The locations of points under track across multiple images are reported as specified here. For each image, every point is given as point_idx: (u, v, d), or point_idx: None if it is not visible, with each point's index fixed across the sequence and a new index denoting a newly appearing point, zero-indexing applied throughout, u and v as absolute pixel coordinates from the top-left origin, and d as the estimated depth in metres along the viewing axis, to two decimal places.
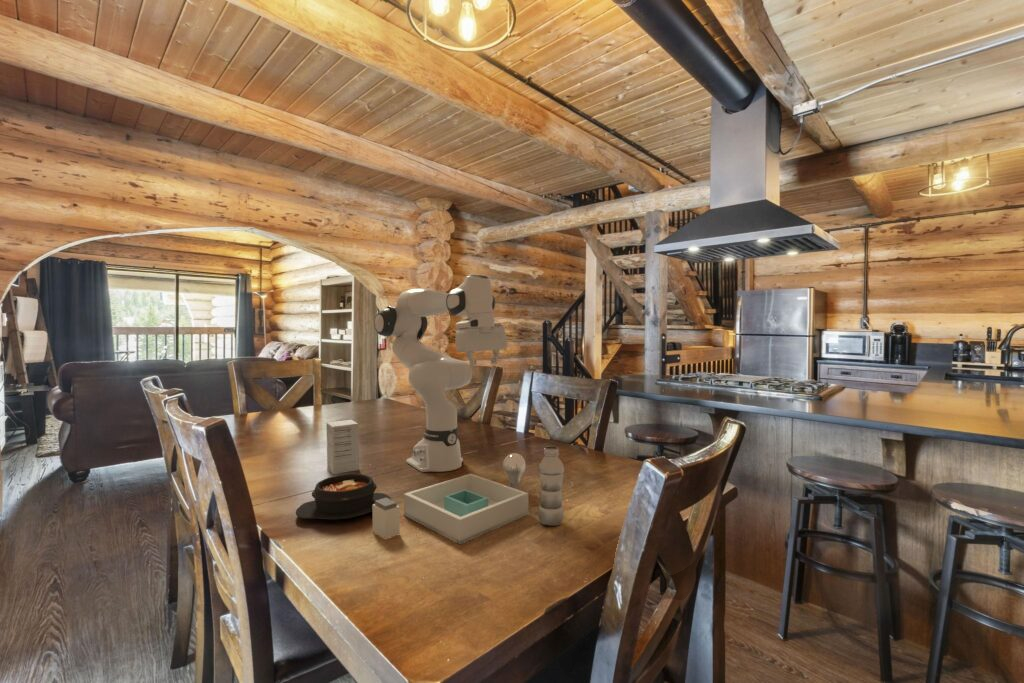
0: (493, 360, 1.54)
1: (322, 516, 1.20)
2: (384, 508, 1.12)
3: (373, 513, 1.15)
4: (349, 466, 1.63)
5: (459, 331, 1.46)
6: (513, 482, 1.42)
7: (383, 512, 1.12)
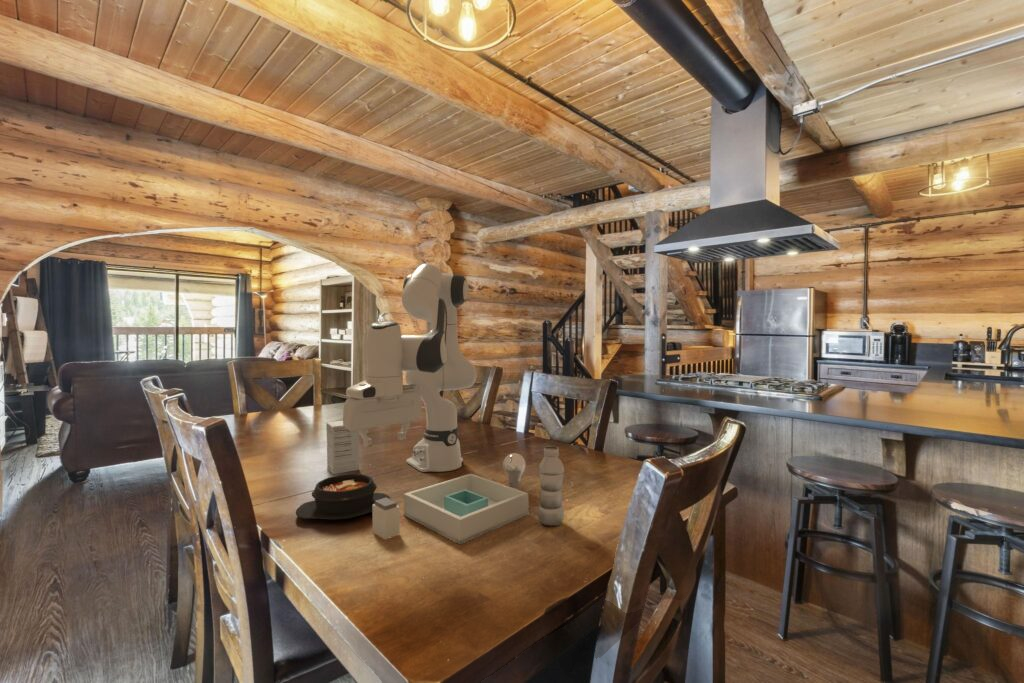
0: (400, 435, 1.17)
1: (322, 516, 1.20)
2: (384, 508, 1.12)
3: (373, 513, 1.15)
4: (349, 466, 1.63)
5: (348, 402, 1.07)
6: (513, 482, 1.42)
7: (383, 512, 1.12)
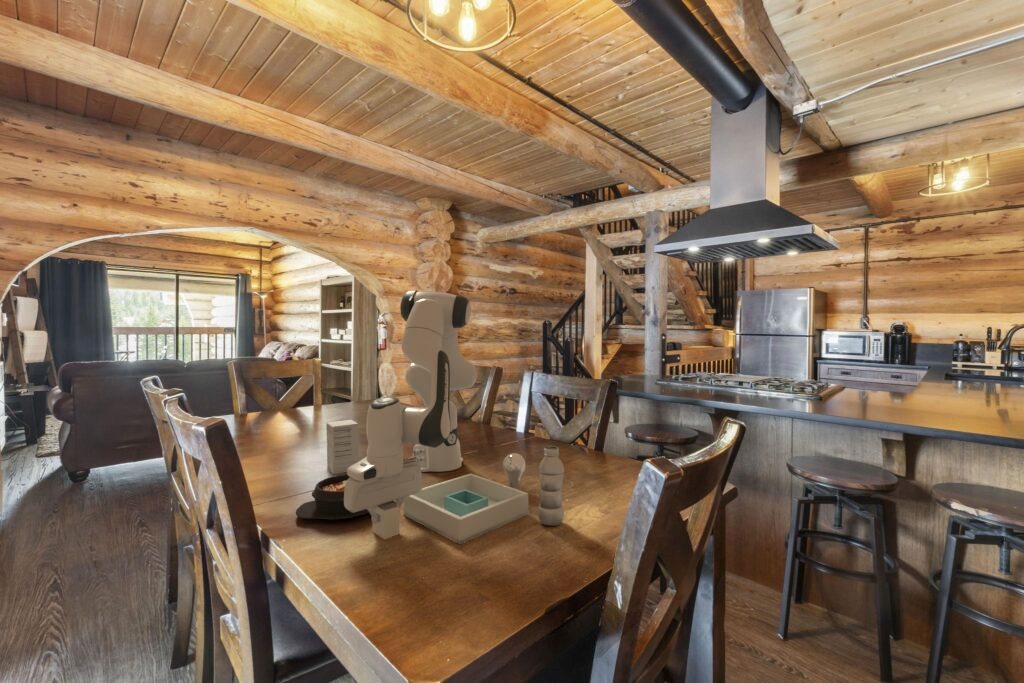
0: None
1: (322, 516, 1.20)
2: (384, 508, 1.12)
3: None
4: (349, 466, 1.63)
5: (349, 483, 1.08)
6: (513, 482, 1.42)
7: (383, 512, 1.12)
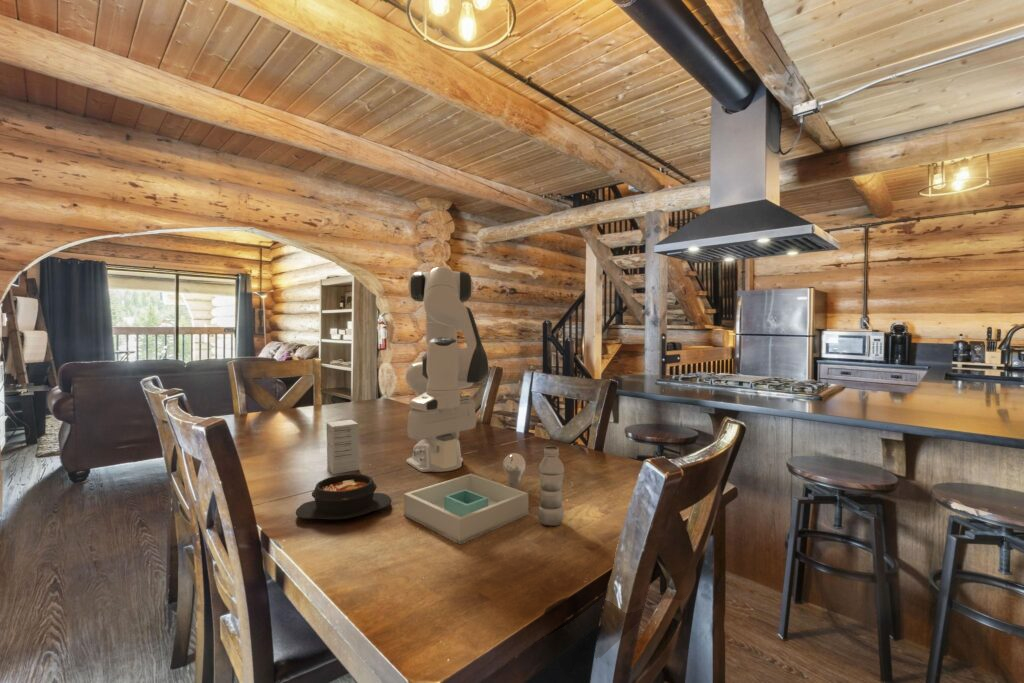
0: None
1: (322, 516, 1.20)
2: (443, 439, 1.19)
3: None
4: (349, 466, 1.63)
5: (413, 413, 1.16)
6: (513, 482, 1.42)
7: (442, 443, 1.19)
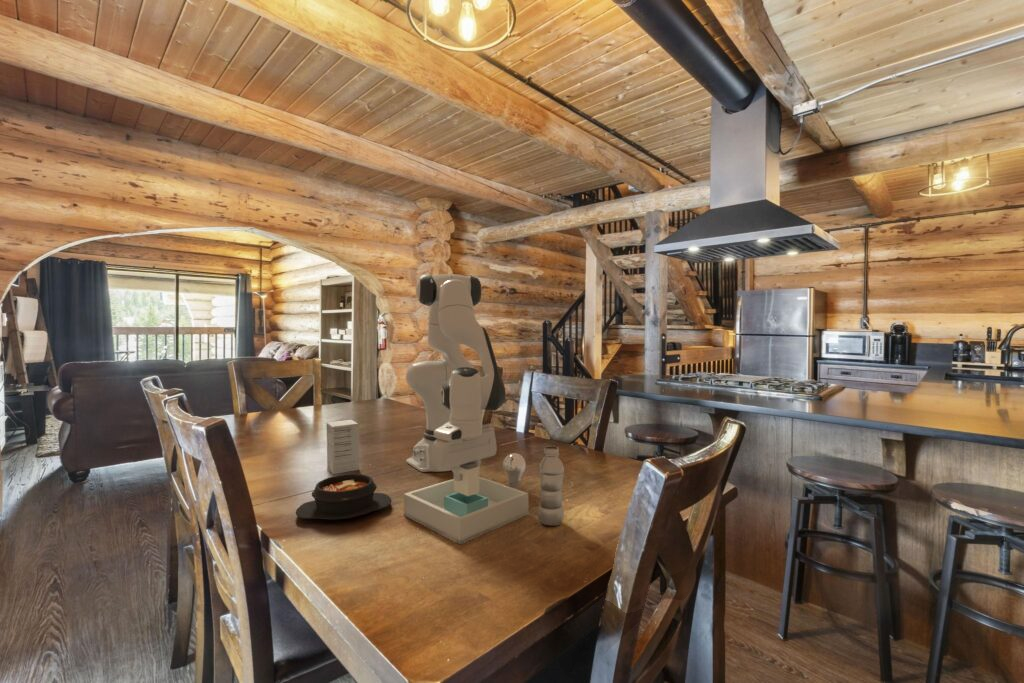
0: None
1: (322, 516, 1.20)
2: (466, 467, 1.22)
3: None
4: (349, 466, 1.63)
5: (437, 443, 1.19)
6: (513, 482, 1.42)
7: (466, 471, 1.22)
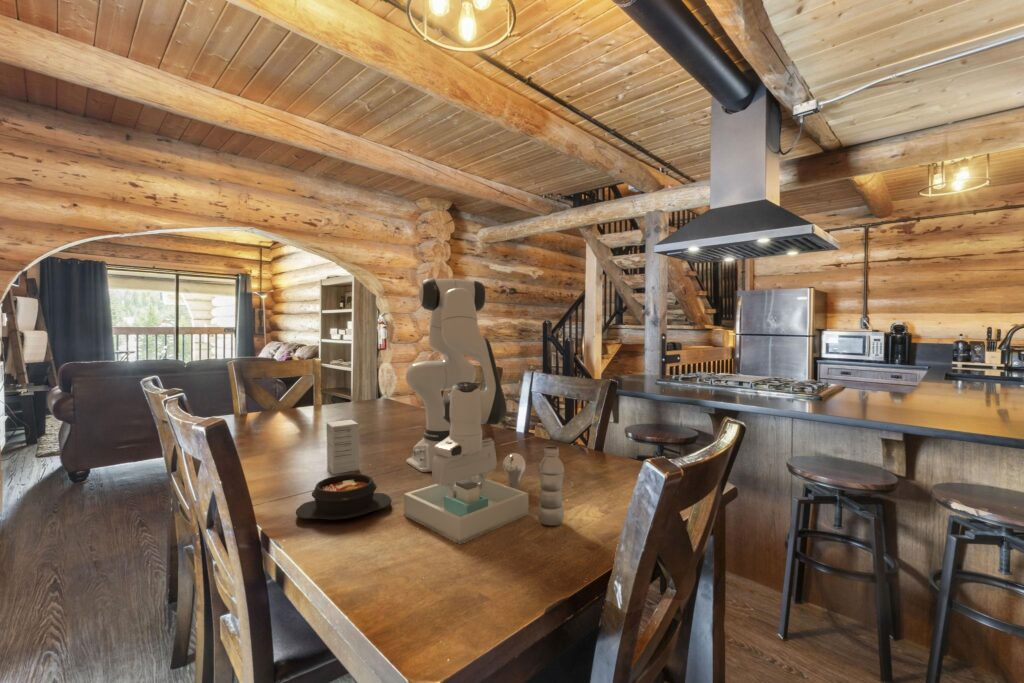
0: (478, 485, 1.28)
1: (322, 516, 1.20)
2: (466, 488, 1.23)
3: None
4: (349, 466, 1.63)
5: (437, 459, 1.19)
6: (513, 482, 1.42)
7: (466, 491, 1.22)
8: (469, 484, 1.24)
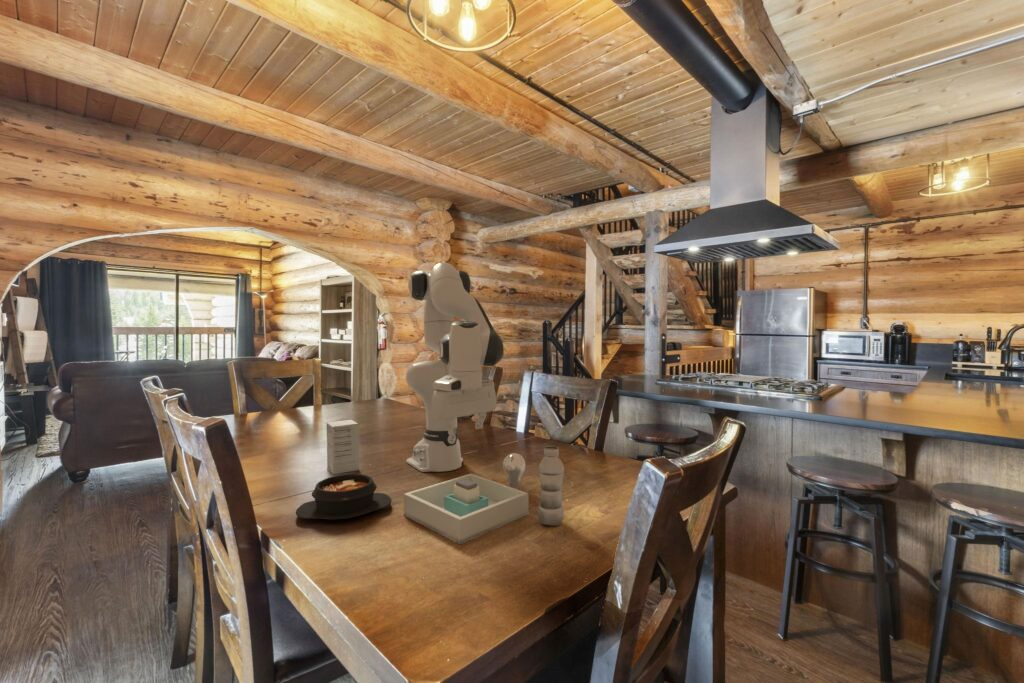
0: (478, 425, 1.28)
1: (322, 516, 1.20)
2: (466, 488, 1.23)
3: (454, 493, 1.26)
4: (349, 466, 1.63)
5: (437, 394, 1.18)
6: (513, 482, 1.42)
7: (466, 491, 1.22)
8: (469, 484, 1.24)
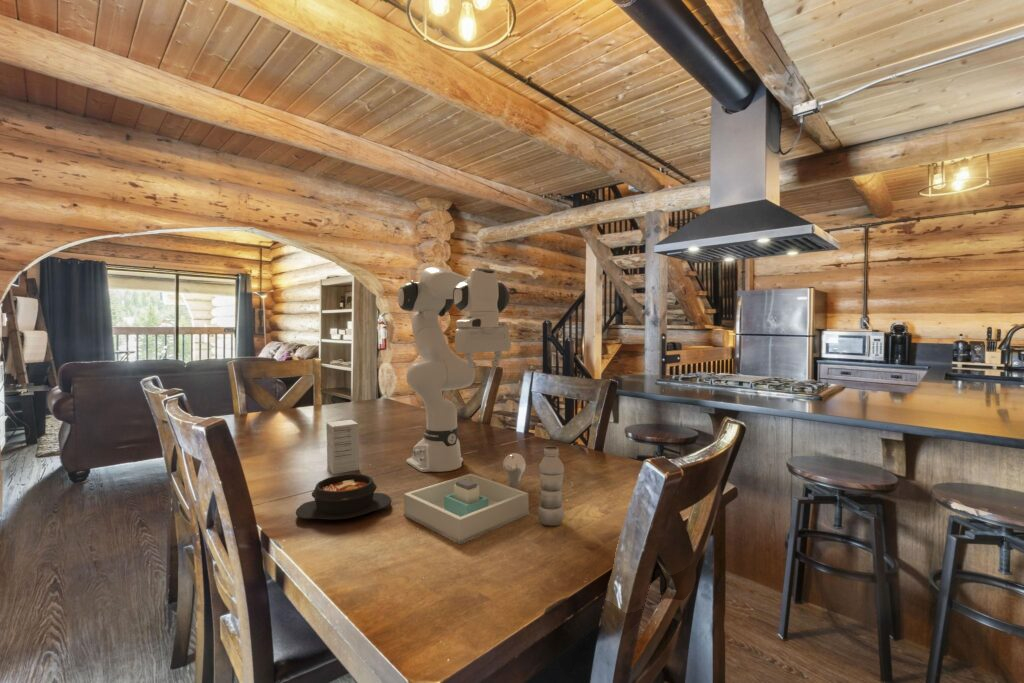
0: (494, 362, 1.42)
1: (322, 516, 1.20)
2: (466, 488, 1.23)
3: (454, 493, 1.26)
4: (349, 466, 1.63)
5: (459, 330, 1.33)
6: (513, 482, 1.42)
7: (466, 491, 1.22)
8: (469, 484, 1.24)
